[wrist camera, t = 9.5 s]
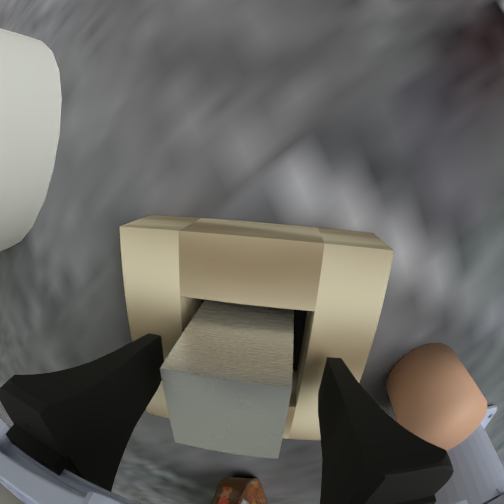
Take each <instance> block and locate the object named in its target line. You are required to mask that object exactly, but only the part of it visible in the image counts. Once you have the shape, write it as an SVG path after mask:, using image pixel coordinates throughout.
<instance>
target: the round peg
mask: <svg viewBox="0 0 504 504" xmlns="http://www.w3.org/2000/svg"><path fill="white" fill-rule="evenodd" d="M386 389H387V393H388V396H389V399H390V402H391V405H392V408H393V411H394V414H395V418H396V421H397V423H399V424H400V425H401V426H403V427H404V428H405V429H407V430H408V431H410V432H411V433H413V434H415V435H416V436H418V437H420V438H422V439H423V440H425V441H427V442H429V443H431V444H433V445H436V446H438V447H440V448H442V449H445V450H446V451H448V450H450V449H452V448H454V447H455V446H457V445H458V444H460V443H461V442H463V441H464V440H465V439H466V438H468V437H469V436H470V435H471V434H472V433H473V432H474V431H475V430H476V429H477V427H478V426H479V425H480V423H481V422H482V420H483V419H484V417H485V415H486V412H487V401H486V399H485V398H484V396H483V394H482V393H481V391H480V390H479V388H478V387H477V385H476V384H475V382H474V381H473V379H472V378H471V376H470V375H469V373H468V372H467V370H466V369H465V367H464V366H463V364H462V363H461V362H460V360H459V359H458V357H457V356H456V355H455V353H454V352H453V350H452V349H451V348H450V347H449V346H447V345H445V344H442V343H430V344H426V345H423V346H420V347H418V348H416V349H414V350H412V351H411V352H409V353H408V354H406V355H405V356H404V357H403V358H401V359H400V360H399V361H398V362H397V364H396V365H395V366H394V367H393V369H392V370H391V372H390V374H389V376H388V379H387V384H386Z"/></svg>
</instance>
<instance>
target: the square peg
mask: <svg viewBox="0 0 504 504" xmlns="http://www.w3.org/2000/svg"><path fill="white" fill-rule="evenodd" d="M293 339H294V309H284V308H274V307H264V306H255V305H246V304H237V303H229V302H221V301H213V300H204V302H203V303H202V305H201V306H200V308H199V309H198V311H197V312H196V314H195V315H194V317H193V318H192V320H191V321H190V323H189V324H188V326H187V327H186V329H185V330H184V332H183V333H182V335H181V336H180V338H179V340H178V341H177V343H176V344H175V346H174V347H173V349H172V350H171V352H170V353H169V355H168V356H167V358H166V359H165V361H164V363H163V364H162V366H161V367H160V372H161V378H162V383H163V389H164V394H165V399H166V404H167V409H168V413H169V418H170V422H171V427H172V431H173V435H174V439H175V442H177V443H181V444H185V445H190V446H194V447H199V448H204V449H209V450H214V451H220V452H225V453H232V454H239V455H246V456H254V457H263V458H274V459H278V457H279V452H280V448H281V443H282V438H283V433H284V428H285V423H286V418H287V412H288V407H289V402H290V396H291V390H292V374H293Z"/></svg>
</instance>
